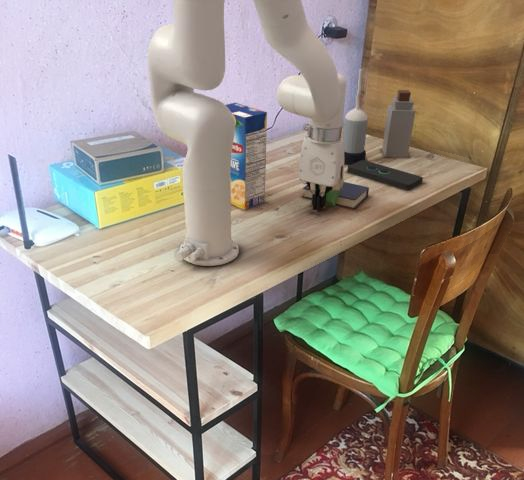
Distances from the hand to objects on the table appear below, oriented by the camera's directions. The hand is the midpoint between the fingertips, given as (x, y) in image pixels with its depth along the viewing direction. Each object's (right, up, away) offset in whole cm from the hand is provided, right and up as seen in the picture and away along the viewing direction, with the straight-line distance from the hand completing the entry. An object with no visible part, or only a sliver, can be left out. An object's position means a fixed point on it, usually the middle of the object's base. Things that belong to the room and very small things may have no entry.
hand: (318, 208), depth 144 cm
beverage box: (-19, +3, +5) cm, 20 cm away
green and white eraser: (+3, +5, +2) cm, 6 cm away
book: (+5, +5, +8) cm, 10 cm away
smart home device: (+20, +14, +20) cm, 32 cm away
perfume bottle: (+27, +26, +36) cm, 52 cm away
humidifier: (+13, +22, +31) cm, 40 cm away
